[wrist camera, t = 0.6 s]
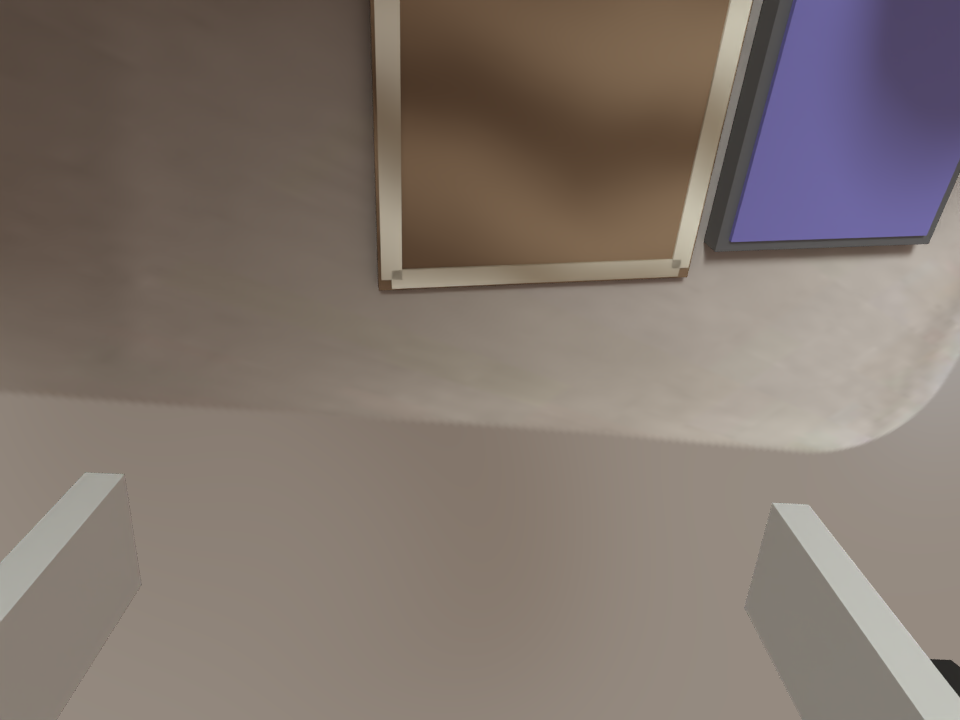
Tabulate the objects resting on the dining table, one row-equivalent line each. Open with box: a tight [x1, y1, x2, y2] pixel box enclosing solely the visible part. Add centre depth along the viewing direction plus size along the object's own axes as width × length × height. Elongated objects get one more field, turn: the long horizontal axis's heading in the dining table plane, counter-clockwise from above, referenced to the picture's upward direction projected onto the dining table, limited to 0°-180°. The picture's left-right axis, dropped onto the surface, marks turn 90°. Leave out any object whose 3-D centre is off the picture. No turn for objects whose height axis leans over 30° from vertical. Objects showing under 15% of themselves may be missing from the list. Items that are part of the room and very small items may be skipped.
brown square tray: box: [370, 0, 753, 291], centre depth 25 cm, size 13×13×1 cm
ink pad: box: [704, 0, 960, 252], centre depth 28 cm, size 10×10×1 cm
